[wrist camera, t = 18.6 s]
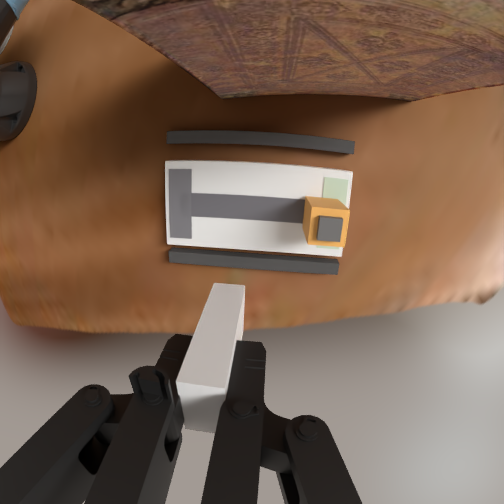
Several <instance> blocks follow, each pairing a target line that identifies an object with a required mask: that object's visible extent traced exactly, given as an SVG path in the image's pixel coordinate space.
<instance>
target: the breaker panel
mask: <svg viewBox="0 0 504 504" xmlns="http://www.w3.org/2000/svg"><path fill="white" fill-rule="evenodd" d="M352 177H353V172H351V171H349V170H341V169H333V168H324V167H314V166H304V165H293V164H281V163H266V162H248V161H223V160H168V161H165V199H166V229H167V244H172V245H186V246H201V247H215V248H229V249H243V250H257V251H271V252H285V253H299V254H312V255H326V256H340V257H341V256H342V250H343V247H333V246H320V245H308V244H307V241H306V238H305V235H304V232H303V229H302V226H303V216H304V206H305V196H311V197H322V198H332V199H338V200H339V201H340V202H341V203H343V204H344V205H345V206H346V207H347V208H348V209H349V202H350V194H351V186H352Z"/></svg>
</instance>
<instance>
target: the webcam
mask: <svg viewBox="0 0 504 504" xmlns="http://www.w3.org/2000/svg"><path fill="white" fill-rule="evenodd" d="M13 27H14V25H13ZM13 27H12V28H11V30H10V32H9V33H8V35H7V37H6V38H5V40H4V42H3V44H2V45H1V47H0V54H1V53H2V51H3V49H4V48H5V46H6V44H7V42H8V40H9V38H10V36H11V33H12V30H13Z"/></svg>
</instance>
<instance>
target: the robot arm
mask: <svg viewBox="0 0 504 504" xmlns="http://www.w3.org/2000/svg"><path fill="white" fill-rule="evenodd" d="M28 1H29V0H0V47H1V45H2V44H3V42H4V40H5V38H6V37H7V35H8V33H9V32H10V30H11V28H12V27H13V25H14V23H15V22H16V20H18V19H19V17H20V14H21V12H22V11H23V9H24V7H25V6H26V4H27V3H28ZM36 91H37V79H36V73H35V70H34V68H33V67H32V65H31V64H29V63H27V62H22V61H13V62H9V63H6V64H2V65H0V141H5V140H10V139H13V138H14V137H16V136H17V135H18V134H19V133H20V132H21V131H22V130H23V128H24V127H25V125H26V123H27V121H28V119H29V117H30V115H31V112H32V109H33V106H34V102H35V98H36ZM244 299H245V285H233V284H221V283H214V285H213V287H212V290H211V292H210V295H209V297H208V300H207V302H206V305H205V307H204V310H203V312H202V315H201V317H200V320H199V322H198V325H197V328H196V330H195V333H194V335H193V336H188V335H181V334H175V335H174V336H173V337H171V338H170V339H169V340H168V341H167V343H166V345H165V347H164V349H163V351H162V353H161V355H160V358H159V359H158V361H157V364H156V365H155V366H143V367H140V368H137V369H136V370H134V371H132V373H131V374H130V375H129V379H130V382H131V385H132V388H133V391H134V393H132V394H121V395H120V394H116V395H115V394H114V395H112V394H110V393H109V391H108V390H107V389H106V388H105V387H104V386H101V385H88V386H85V387H83V388H82V389H80V390H79V391H78V392H77V393H76V394H75V395H74V396H73V397H72V398H71V399H70V400H69V401H68V402H66V403H65V405H64V406H62V408H60V409H59V410H58V411H57V412H56V413H55V414H54V415H53V416H52V417H51V418H50V419H49V420H48V421H47V422H46V423H45V424H44V425H43V426H42V427H41V428H40V429H39V430H38V431H37V432H36V433H35V434H34V435H33V436H32V437H31V438H30V439H29V440H28V441H27V442H26V443H25V444H24V445H23V446H22V447H21V448H20V449H19V450H18V451H17V452H16V453H15V454H14V455H13V456H12V457H11V458H10V459H9V460H8V461H7V462H6V463H5V464H4V465H3V466H2V467H1V468H0V504H82V503H83V502H84V501H85V503H84V504H165V501H166V498H167V494H168V490H169V486H170V483H171V479H172V475H173V472H174V468H175V465H176V460H177V457H178V454H179V450H180V446H181V443H182V433H181V429H182V427H183V423H184V425H185V429H190V430H196V431H203V432H209V433H215V436H214V441H213V447H212V451H211V456H210V461H209V466H208V471H207V477H206V481H205V486H204V491H203V496H202V501H201V504H257V496H258V484H259V472H260V466H261V467H264V468H267V469H270V470H273V471H276V474H277V478H278V481H279V485H280V488H281V492H282V496H283V499H284V503H285V504H362V502H361V500H360V497H359V495H358V493H357V491H356V488H355V486H354V484H353V482H352V479H351V477H350V475H349V473H348V470H347V468H346V466H345V464H344V461H343V459H342V457H341V455H340V452H339V450H338V448H337V446H336V443H335V441H334V439H333V437H332V434H331V432H330V430H329V428H328V426H327V425H326V423H325V422H324V421H323V420H321V419H320V418H318V417H315V416H311V415H301V416H298V417H295V418H293V419H292V420H290V419H287V418H283V417H280V416H278V415H276V414H274V413H272V412H271V411H270V410H269V409H268V408H267V407H266V405H265V403H264V383H265V363H266V350H265V348H264V346H263V344H262V343H261V342H253V341H252V342H251V341H242V334H243V322H244Z"/></svg>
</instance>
